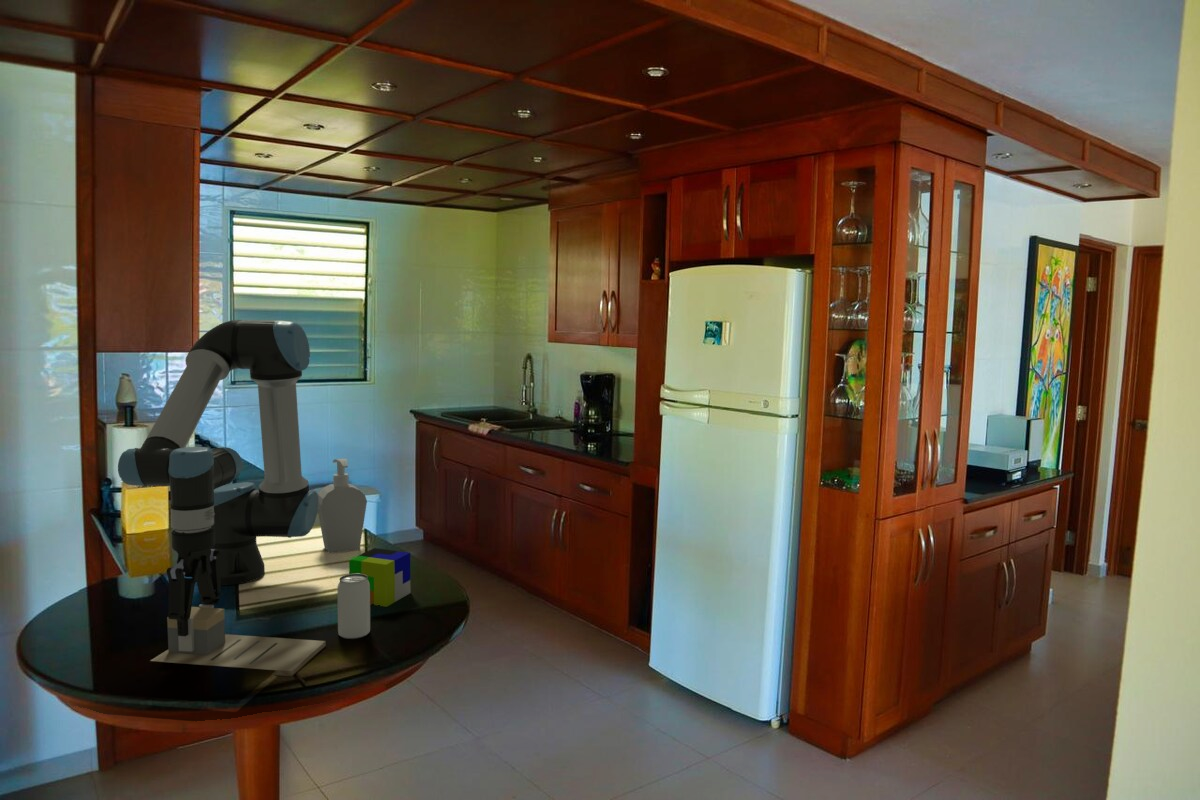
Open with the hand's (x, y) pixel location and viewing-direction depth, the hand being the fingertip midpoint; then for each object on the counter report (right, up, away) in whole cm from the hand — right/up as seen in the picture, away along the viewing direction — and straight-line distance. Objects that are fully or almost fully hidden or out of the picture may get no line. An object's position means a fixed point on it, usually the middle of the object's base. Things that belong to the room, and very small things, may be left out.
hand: (197, 643), depth 159 cm
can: (+27, -2, +11) cm, 30 cm away
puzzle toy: (+27, +1, +33) cm, 43 cm away
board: (+9, -2, -1) cm, 9 cm away
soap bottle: (+6, +5, +71) cm, 71 cm away
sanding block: (0, -1, 0) cm, 1 cm away
